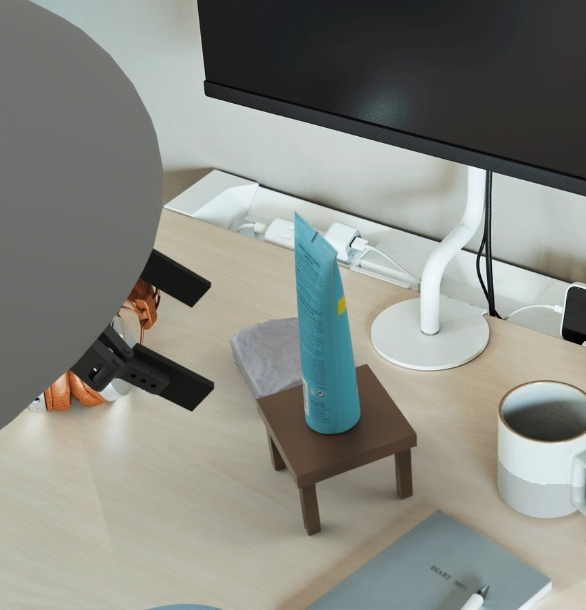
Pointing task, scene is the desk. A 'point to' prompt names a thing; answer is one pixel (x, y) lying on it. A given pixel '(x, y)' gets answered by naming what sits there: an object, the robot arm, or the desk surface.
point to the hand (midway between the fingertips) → (202, 342)
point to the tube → (323, 334)
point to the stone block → (269, 355)
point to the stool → (337, 441)
